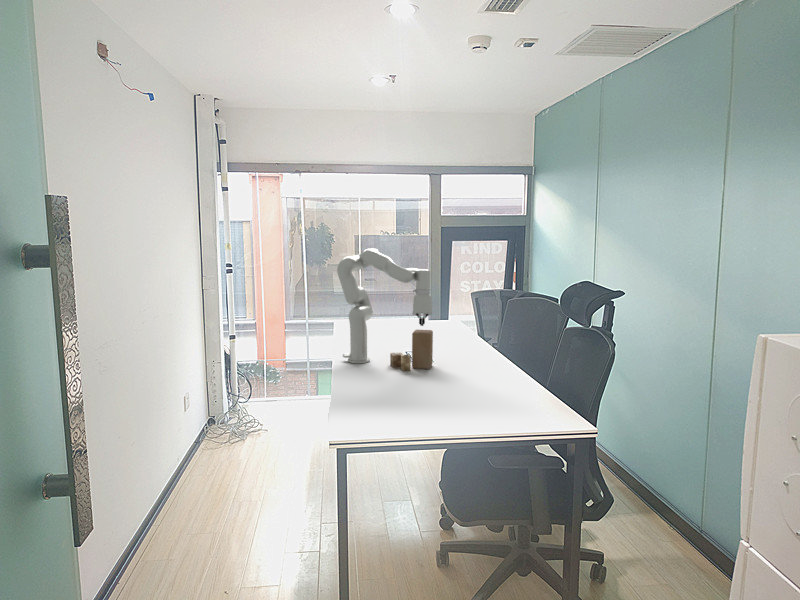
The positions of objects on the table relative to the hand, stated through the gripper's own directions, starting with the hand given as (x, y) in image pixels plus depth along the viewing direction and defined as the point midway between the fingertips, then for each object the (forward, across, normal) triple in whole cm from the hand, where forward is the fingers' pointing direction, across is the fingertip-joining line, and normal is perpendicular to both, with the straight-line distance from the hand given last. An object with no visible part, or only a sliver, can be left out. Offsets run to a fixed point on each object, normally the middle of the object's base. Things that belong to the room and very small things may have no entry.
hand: (421, 325), depth 305 cm
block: (+23, +1, 0) cm, 23 cm away
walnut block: (+23, -13, +1) cm, 27 cm away
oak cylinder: (+23, -8, -7) cm, 26 cm away
